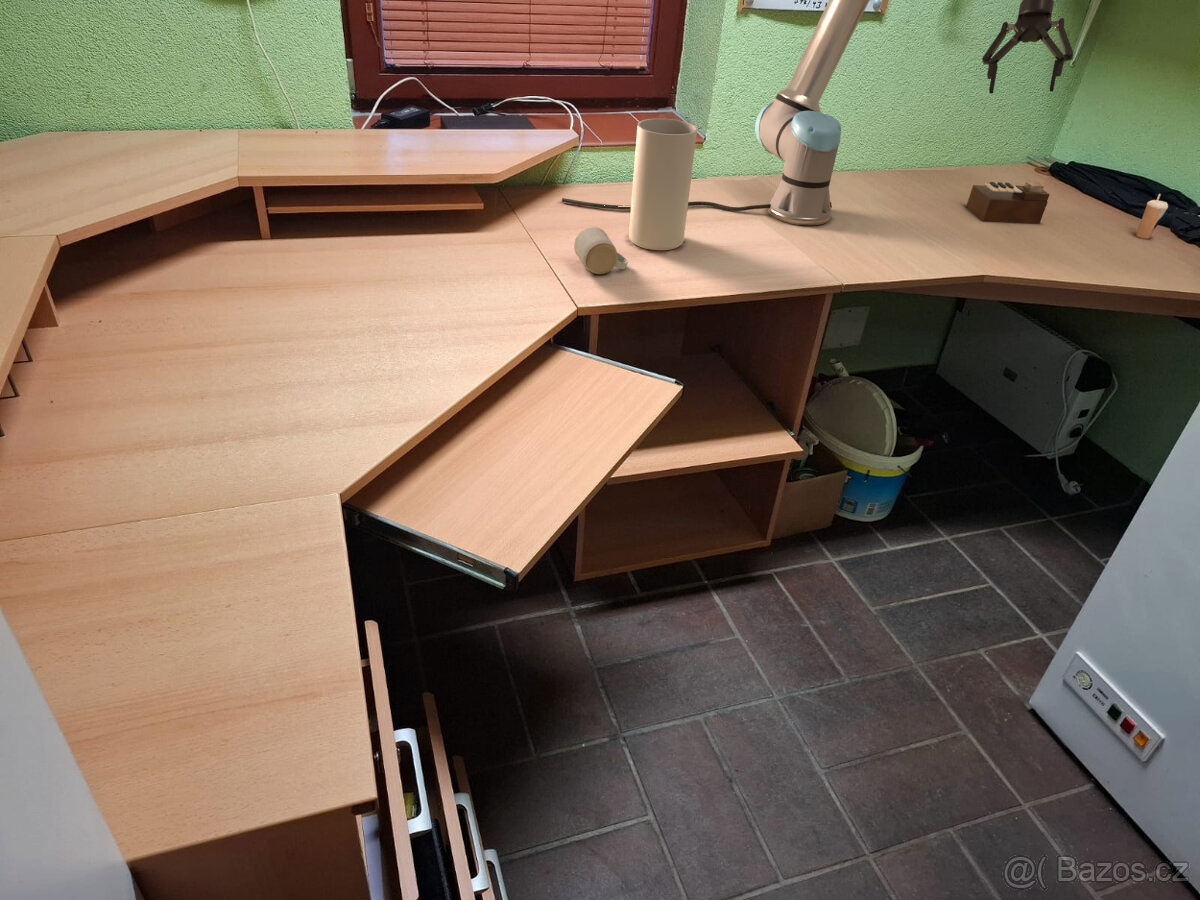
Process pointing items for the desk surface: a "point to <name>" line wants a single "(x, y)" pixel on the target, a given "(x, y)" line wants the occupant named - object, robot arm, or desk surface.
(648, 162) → the cylinder vase
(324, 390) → the desk surface
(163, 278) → the desk surface
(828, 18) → the robot arm
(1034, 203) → the piano
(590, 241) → the ceramic mug
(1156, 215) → the milkshake
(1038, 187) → the key
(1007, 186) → the keyboard
